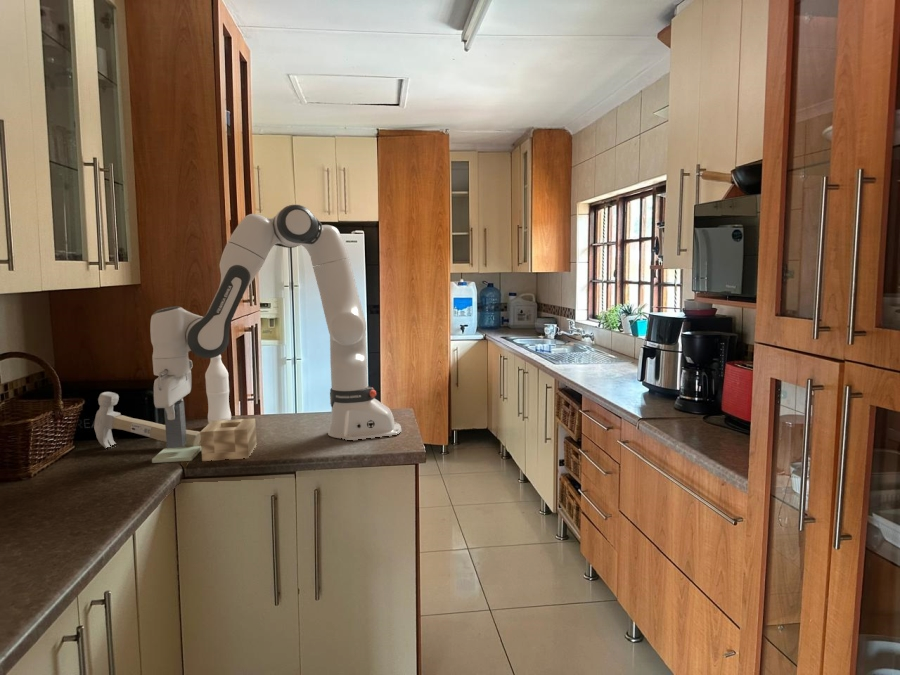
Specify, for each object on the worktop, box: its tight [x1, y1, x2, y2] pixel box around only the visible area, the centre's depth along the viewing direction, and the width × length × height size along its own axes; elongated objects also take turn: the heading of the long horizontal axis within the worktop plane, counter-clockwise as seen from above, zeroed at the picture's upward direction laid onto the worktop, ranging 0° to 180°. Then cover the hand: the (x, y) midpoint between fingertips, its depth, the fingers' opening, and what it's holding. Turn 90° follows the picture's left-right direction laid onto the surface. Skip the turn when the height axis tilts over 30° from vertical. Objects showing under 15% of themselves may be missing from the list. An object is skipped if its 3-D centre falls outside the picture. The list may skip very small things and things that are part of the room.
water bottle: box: [204, 354, 232, 424], centre depth 193 cm, size 7×7×25 cm
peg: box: [163, 400, 187, 448], centre depth 163 cm, size 4×4×12 cm
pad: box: [151, 445, 202, 464], centre depth 164 cm, size 10×10×1 cm
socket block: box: [199, 418, 257, 462], centre depth 165 cm, size 12×12×8 cm
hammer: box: [93, 391, 201, 449], centre depth 171 cm, size 16×5×30 cm
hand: (175, 416), depth 162 cm, fingers closed on peg, 4 cm apart
